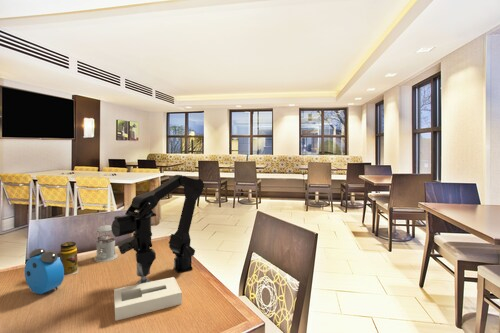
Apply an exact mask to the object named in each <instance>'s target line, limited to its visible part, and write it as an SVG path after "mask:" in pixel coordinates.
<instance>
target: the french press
mask: <svg viewBox="0 0 500 333" xmlns="http://www.w3.org/2000/svg"><path fill="white" fill-rule="evenodd" d="M102 208H103V209H107V208H108V205H106V204H104V205H102ZM106 218H107V217H106V216H104V225H101V226H99V227H97V228H96V229H95V232H96V234H95V240H96V242H95V244H96V248H95V249H96V256H95V257H94V259H93V260H94V262H97V263H105V262H110V261H113V260H115V259H117V258H118V257H119V256H118V254H117V253H116V239H115V236H114V235H113V234H107V233H110V232H112V229H111V225H110V224H107V220H106ZM103 233H105V235H101V234H103ZM98 234H99V236H97V235H98Z"/></svg>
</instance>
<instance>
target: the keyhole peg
mask: <svg viewBox="0 0 500 333" xmlns="http://www.w3.org/2000/svg"><path fill="white" fill-rule="evenodd" d="M150 274H151V269H150V270H149V272H148V274H147V276H148V275H150ZM136 276H137V277H140V279H139V280H138V281H137V282H136V285H137V284H142V283H147V282H151V280H150V279H149V278H147V276H143V271H142V267H141V264H139V263H137V262H136Z"/></svg>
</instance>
